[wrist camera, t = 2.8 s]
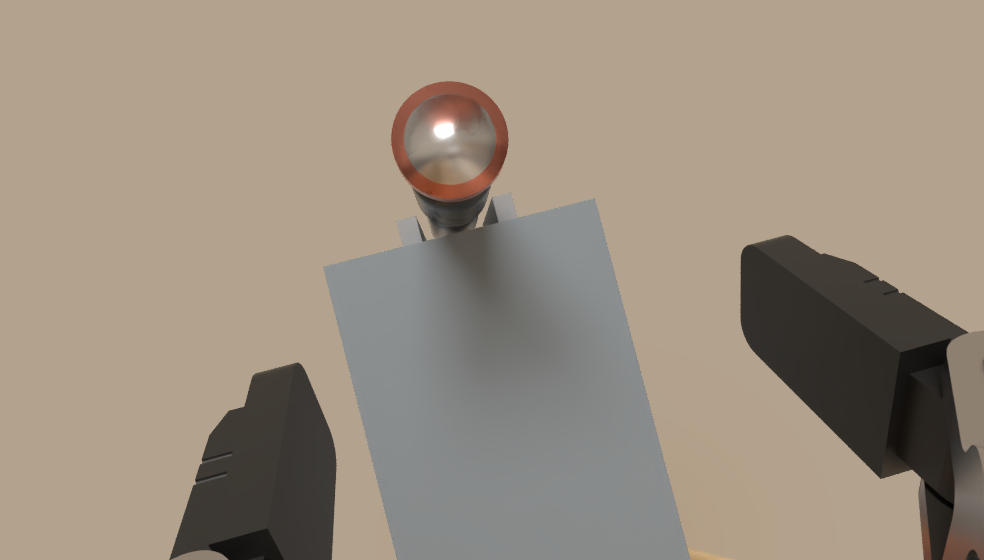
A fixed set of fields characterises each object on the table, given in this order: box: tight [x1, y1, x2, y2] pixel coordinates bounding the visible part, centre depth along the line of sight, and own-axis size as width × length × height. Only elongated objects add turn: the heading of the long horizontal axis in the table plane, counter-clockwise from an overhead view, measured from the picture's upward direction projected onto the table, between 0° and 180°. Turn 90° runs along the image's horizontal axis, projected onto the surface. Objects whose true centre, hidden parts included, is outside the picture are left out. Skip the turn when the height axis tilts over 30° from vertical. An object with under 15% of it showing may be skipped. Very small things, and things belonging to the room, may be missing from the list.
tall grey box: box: [323, 193, 690, 560], centre depth 37 cm, size 12×14×33 cm
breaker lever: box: [391, 81, 508, 239], centre depth 33 cm, size 25×4×4 cm, turn 3°
